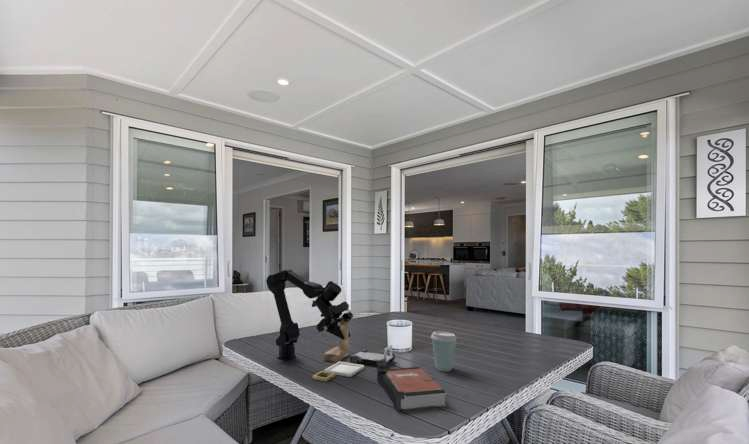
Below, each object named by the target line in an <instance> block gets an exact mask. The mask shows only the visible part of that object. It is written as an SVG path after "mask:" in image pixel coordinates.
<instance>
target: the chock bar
mask: <svg viewBox="0 0 749 444" xmlns="http://www.w3.org/2000/svg"><path fill="white" fill-rule="evenodd" d="M348 356H350V348H349V347H348ZM348 356H340V346H335V347H333V348H331V349H329V350H328V351H326V352H324V353H323V361H324V362H331V363H332V362H333V363H338V362H339V361H340V362H342V360H344V359H345V358H347V357H348Z"/></svg>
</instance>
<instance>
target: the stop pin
mask: <svg viewBox="0 0 749 444" xmlns="http://www.w3.org/2000/svg"><path fill="white" fill-rule="evenodd" d="M349 324H350V323H349V322H341V323H340V330H341V332H342V334H343V336H344V339H343V340H342V339H341V338H339V347H340V356H347V357H348V356H349V355H348V348H349V338H348V329H349Z"/></svg>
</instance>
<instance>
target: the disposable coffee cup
mask: <svg viewBox="0 0 749 444" xmlns="http://www.w3.org/2000/svg"><path fill="white" fill-rule="evenodd" d="M430 338H431V343H432V344H431V345H432V349H433V350H432V351H433V358H434V365H435V369H436V370H437V371H440V372H450V371H451V370H452V368H453V364H454V356H455V350H456V343H457V340H458V338H457V336H456V335H455V333H451V332H448V331H433V332H432V334H431V335H430Z"/></svg>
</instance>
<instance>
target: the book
mask: <svg viewBox="0 0 749 444" xmlns="http://www.w3.org/2000/svg"><path fill="white" fill-rule="evenodd" d="M376 371H377V373H376V374H377V375H376V379H377V380H376V381H377V383H378V384H379V385H381V387H382V388H383V390H384V391H386V392H385V393H386V395H387V396H388V398H389V399H390V401H391V402H392V404H393V409H394V410H395V411H396V412H401V411H409V410H418V409H419V408H422V409H429V408H439V407H447V404H446V396H447V392H446V391H445V390H444V389H443V388H442V387H441V386H440V385H439V384H438V383H436V381H434V377H433V376H430V375H428V374H427V373H426V372H425V371H424V370H423V369H422V368H421V367H420V366H415V367H413V366H412V367H404V368H389V369H387V368H386V367H384V368H383V369H380V368H376ZM419 410H420V409H419Z"/></svg>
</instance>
